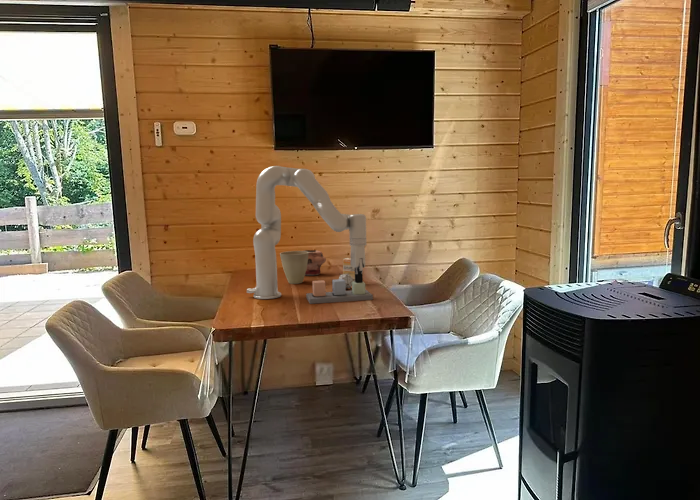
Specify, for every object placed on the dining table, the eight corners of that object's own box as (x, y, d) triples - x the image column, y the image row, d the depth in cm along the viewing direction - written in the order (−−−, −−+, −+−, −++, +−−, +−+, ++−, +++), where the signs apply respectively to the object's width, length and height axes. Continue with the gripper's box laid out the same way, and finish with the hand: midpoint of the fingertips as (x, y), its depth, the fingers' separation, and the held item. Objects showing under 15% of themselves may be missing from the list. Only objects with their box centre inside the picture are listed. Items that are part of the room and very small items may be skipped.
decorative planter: (290, 277, 275) (289, 252, 273) (292, 273, 287) (291, 249, 285) (325, 276, 275) (325, 251, 273) (326, 272, 287) (326, 248, 285)
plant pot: (305, 279, 268) (305, 250, 266) (312, 284, 254) (311, 253, 252) (278, 281, 263) (277, 251, 261) (283, 286, 249) (282, 255, 247)
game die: (348, 297, 239) (352, 283, 232) (332, 290, 240) (335, 276, 233) (354, 285, 245) (358, 271, 239) (339, 279, 247) (342, 265, 240)
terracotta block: (314, 296, 215) (314, 283, 214) (312, 294, 220) (312, 280, 219) (325, 295, 216) (325, 282, 215) (323, 293, 221) (323, 280, 220)
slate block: (334, 295, 217) (334, 281, 216) (332, 292, 222) (332, 279, 221) (345, 294, 218) (345, 281, 217) (343, 292, 223) (343, 279, 222)
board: (309, 303, 211) (309, 299, 211) (306, 297, 223) (306, 293, 223) (372, 299, 217) (372, 295, 217) (366, 293, 229) (366, 289, 228)
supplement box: (342, 284, 252) (342, 259, 250) (346, 282, 256) (346, 257, 255) (357, 285, 249) (357, 259, 247) (361, 283, 253) (360, 258, 252)
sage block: (354, 297, 219) (354, 283, 218) (352, 294, 224) (351, 281, 223) (365, 296, 220) (365, 283, 219) (362, 293, 225) (362, 281, 224)
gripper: (346, 240, 225) (347, 279, 227) (353, 244, 211) (354, 286, 213) (362, 239, 227) (362, 278, 229) (370, 243, 212) (371, 285, 215)
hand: (358, 282), depth 221 cm, fingers closed
